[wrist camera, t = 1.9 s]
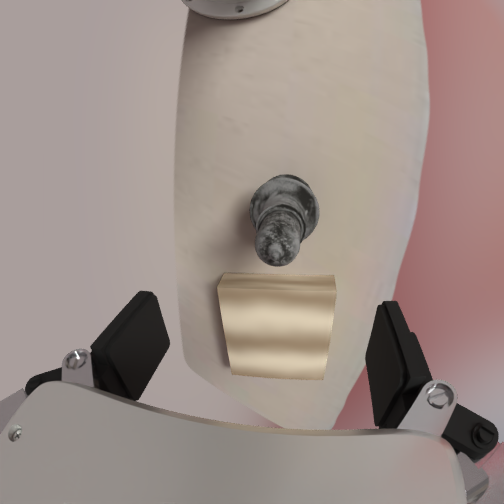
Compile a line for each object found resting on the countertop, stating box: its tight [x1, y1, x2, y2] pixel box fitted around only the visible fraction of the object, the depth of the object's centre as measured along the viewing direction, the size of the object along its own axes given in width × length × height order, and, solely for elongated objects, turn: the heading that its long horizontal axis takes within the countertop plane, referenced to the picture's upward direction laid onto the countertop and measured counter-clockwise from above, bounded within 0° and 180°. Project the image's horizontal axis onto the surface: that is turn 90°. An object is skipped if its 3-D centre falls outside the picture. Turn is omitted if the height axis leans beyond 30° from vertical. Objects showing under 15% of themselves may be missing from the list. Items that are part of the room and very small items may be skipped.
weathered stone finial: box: [250, 175, 319, 266], centre depth 21 cm, size 6×6×12 cm
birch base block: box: [217, 273, 337, 380], centre depth 31 cm, size 14×12×3 cm
